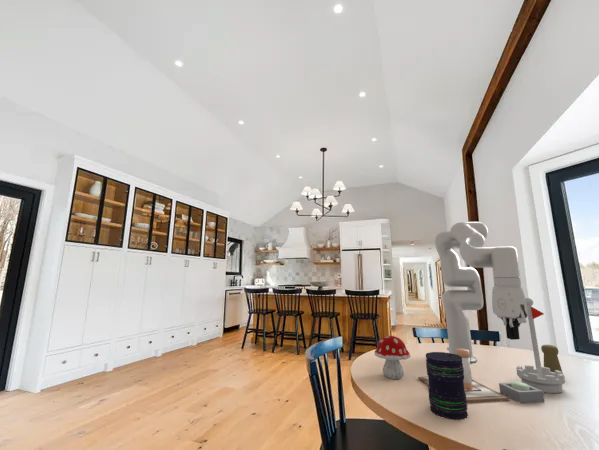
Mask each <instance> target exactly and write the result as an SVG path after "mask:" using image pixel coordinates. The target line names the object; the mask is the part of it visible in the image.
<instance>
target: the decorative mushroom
mask: <svg viewBox="0 0 599 450" xmlns="http://www.w3.org/2000/svg"><path fill="white" fill-rule="evenodd" d="M374 356H375V357H377V358H379V359H384V360H385V361H384V364H383V366H382V373H383V375H384V377H385V378H388V379H392V380H400V379H403V377H404V375H405V372H404V367H403V366H402V364H401V362H400V361H402V360H407V359H410V358H411V356H412V355H411V353H410V352H409V351H408V349H407V347H406V343H404V341H403V340H402V339H401V338H400V337H397V336H395V335H386V336H384V337H382V338H381V339H380V340H379V341H378V344H377V347H376V349H375V350H374Z"/></svg>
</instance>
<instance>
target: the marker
mask: <svg viewBox="0 0 599 450" xmlns="http://www.w3.org/2000/svg"><path fill="white" fill-rule="evenodd" d="M456 355H459V356H461V357H462V363H463V368H464V380H463V381H464V389H466V390H472V389H473V385H472V380H473V378H472V370H471V368H472V367H471V363H470V358H469V357H470V355H469V350H467V349H462V348H458V349H456Z"/></svg>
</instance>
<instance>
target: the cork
mask: <svg viewBox="0 0 599 450" xmlns="http://www.w3.org/2000/svg"><path fill="white" fill-rule="evenodd" d="M540 349H541V353H543V367H546V368H550V371H551V372H554V373H555V370H558V371H561V372H562V373H563V369H562V366H561V363H560V359H559V349H558V347H557V346H556V345H552V344H542V345H541V347H540ZM563 374H564V373H563Z"/></svg>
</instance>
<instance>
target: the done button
mask: <svg viewBox="0 0 599 450" xmlns="http://www.w3.org/2000/svg"><path fill="white" fill-rule="evenodd" d="M521 382H522V381H511V382H510V383H511V386H512V388H515V389H517V390H519V391H522V390H529V385H528V384H525V383H521Z"/></svg>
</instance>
